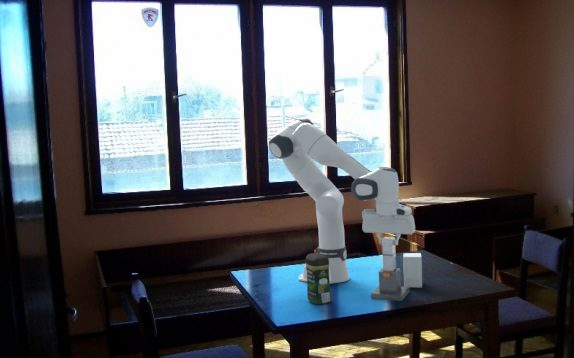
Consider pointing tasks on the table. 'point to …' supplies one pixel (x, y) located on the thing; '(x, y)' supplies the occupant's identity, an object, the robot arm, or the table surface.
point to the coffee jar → (318, 278)
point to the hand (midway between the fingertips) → (388, 244)
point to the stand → (390, 286)
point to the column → (389, 254)
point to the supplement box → (412, 269)
